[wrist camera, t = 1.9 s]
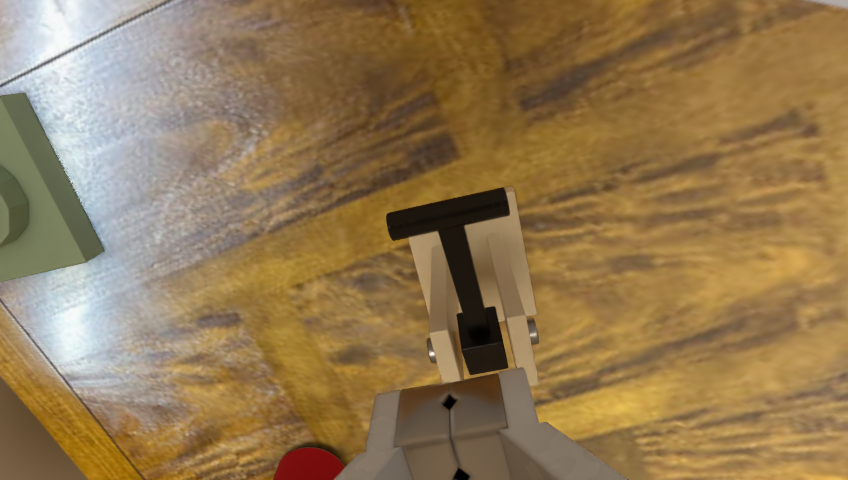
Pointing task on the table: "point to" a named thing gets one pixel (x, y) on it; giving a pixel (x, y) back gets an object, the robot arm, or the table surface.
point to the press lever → (462, 267)
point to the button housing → (36, 200)
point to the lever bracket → (500, 286)
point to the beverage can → (309, 465)
